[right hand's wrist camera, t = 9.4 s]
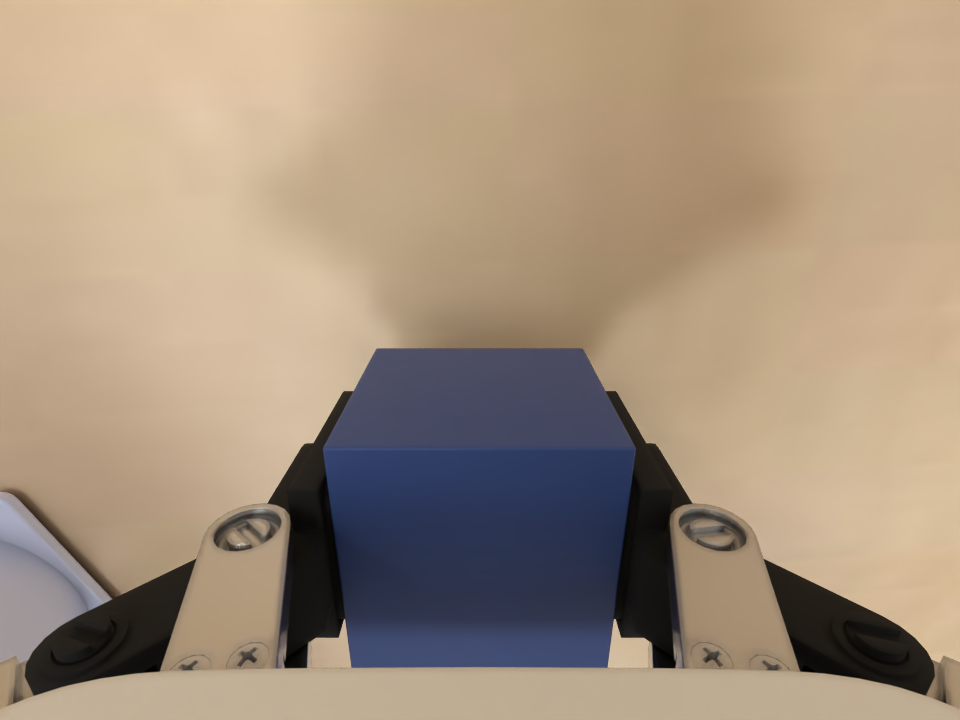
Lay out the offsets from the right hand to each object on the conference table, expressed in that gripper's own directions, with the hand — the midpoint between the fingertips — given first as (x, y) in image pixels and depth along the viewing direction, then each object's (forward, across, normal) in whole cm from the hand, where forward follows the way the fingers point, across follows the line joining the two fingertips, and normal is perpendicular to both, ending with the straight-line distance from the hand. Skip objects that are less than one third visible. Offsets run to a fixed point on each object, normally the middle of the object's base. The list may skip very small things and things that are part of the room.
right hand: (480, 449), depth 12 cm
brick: (0, 0, 0) cm, 0 cm away
